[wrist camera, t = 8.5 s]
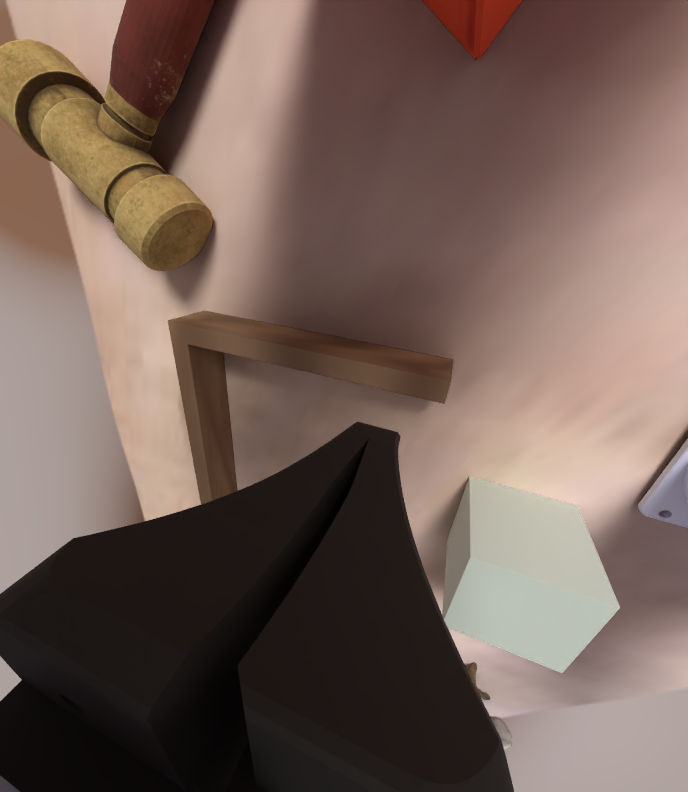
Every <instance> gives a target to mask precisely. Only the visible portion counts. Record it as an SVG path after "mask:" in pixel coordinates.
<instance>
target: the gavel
mask: <svg viewBox="0 0 688 792" xmlns="http://www.w3.org/2000/svg"><path fill="white" fill-rule="evenodd" d="M214 1H215V0H126V3H125V7H124V10H123V14H122V17H121V21H120V24H119V27H118V31H117V34H116V38H115V41H114V45H113V50H112V61H111V71H110V81H109V85H108V88H107V91H106V95H105V100H104V99H103V97H102V95H101V94H100V93H99V92H98V90H97V89H96V88H95V87H94V86H93V85H92V84H91V83H90V82H89V80H88V79H87V78H86V77H85V76H84V75H83V74H82V73H81V72H80V71H79V70H78V69H77V68H76V67H75V66H74V64H73V63H72V62H71V61H70V60H69V59H68V58H66V57H65V56H64V55H63V54H62V53H61V52H59V51H58V50H56V49H54V48H53V47H51V46H49V45H47V44H44V43H42V42H38V41H33V40H15V41H11V42H7V43H6V44H4V45H2V46H0V117H1V118H2V119H3V120H4V121H5V122H6V124H7V125H8V126H9V127H10V128H11V129H12V130H13V131H14V132H15V133H16V134H17V135H18V136H19V137H20V138H21V139H22V140H23V141H24V142H25V143H26V144H27V145H28V146H29V147H30V148H31V149H32V150H33V151H34V152H36V153H37V154H39V155H40V156H42V157H43V158H45V159H47V160H49V161H52V162H53V163H54V164H55V165H56V166H57V167H58V168H59V169H60V170H61V171H62V172H63V173H64V174H65V175H66V176H67V177H68V178H69V179H70V180H71V181H72V182H73V183H74V184H75V185H76V186H77V187H78V188H79V189H80V190H81V191H82V192H83V193H84V194H85V195H86V196H87V197H88V198H89V199H90V200H91V201H92V202H93V203H94V204H95V205H96V206H97V207H98V208H99V210H100V211H101V212H102V213H103V214H104V215H105V216H106V217H107V218H108V219H109V220H110V221H111V222H113V223H114V226H115V231H116V233H117V235H118V237H119V238H120V239H121V240H122V241H123V242H124V243H125V244H126V245H127V246H128V247H129V248H130V249H131V250H132V251H133V252H134V254H135V255H136V256H137V257H138V258H139V259H140V260H141V261H142V262H143V263H144V264H145V265H146V266H147V267H149V268H151V269H153V270H157V271H165V270H171V269H174V268H178V267H180V266H182V265H184V264H186V263H188V262H189V261H190V260H192V259H193V258H194V257H195V256H196V255H198V254H199V252H200V251H201V249H202V247H203V245H204V243H205V241H206V239H207V237H208V235H209V233H210V232H211V229H212V223H213V217H212V214H211V212H210V210H209V209H208V208H207V206H206V205H205V204H204V203H203V202H202V201H201V200H200V199H199V198H198V197H197V196H196V195H195V194H194V193H193V192H192V190H191V189H190V188H189V187H188V186H187V185H186V184H185V183H184V182H183V181H182V180H180V179H179V178H177V177H175V176H171V175H168V174H167V173H166V171H165V170H164V169H163V168H162V167H161V166H160V165H159V164H158V163H157V162H156V161H155V160H154V159H153V157H152V156H151V155H150V154H149V153H148V152H149V149H150V147H151V144H152V142H153V139H152V137H151V136H153V135H155V132H156V130H157V127H158V125H159V122H160V120H161V118H162V117H163V115H164V114H165V112H166V111H167V110H168V108H169V107H170V105H171V104H172V102H173V101H174V99H175V97H176V95H177V92H178V90H179V87H180V85H181V82H182V80H183V77H184V75H185V72H186V70H187V67H188V65H189V63H190V60H191V58H192V55H193V53H194V50H195V48H196V45H197V43H198V40H199V38H200V35H201V33H202V30H203V28H204V26H205V23H206V21H207V18H208V16H209V13H210V11H211V8H212V6H213V3H214ZM105 101H106V102H105Z"/></svg>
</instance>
